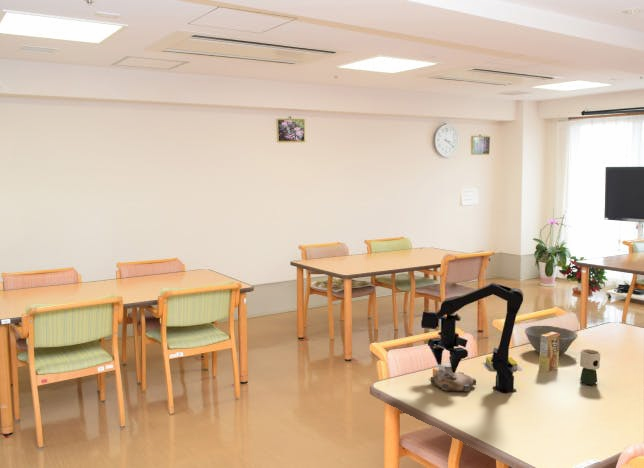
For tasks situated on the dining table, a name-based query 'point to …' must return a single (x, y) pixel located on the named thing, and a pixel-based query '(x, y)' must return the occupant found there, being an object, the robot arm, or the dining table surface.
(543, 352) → the candy box
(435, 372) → the index pointer
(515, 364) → the emergency button
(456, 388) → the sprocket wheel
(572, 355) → the dining table surface
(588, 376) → the character mug
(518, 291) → the robot arm
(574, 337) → the ceramic bowl
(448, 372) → the grey small block
